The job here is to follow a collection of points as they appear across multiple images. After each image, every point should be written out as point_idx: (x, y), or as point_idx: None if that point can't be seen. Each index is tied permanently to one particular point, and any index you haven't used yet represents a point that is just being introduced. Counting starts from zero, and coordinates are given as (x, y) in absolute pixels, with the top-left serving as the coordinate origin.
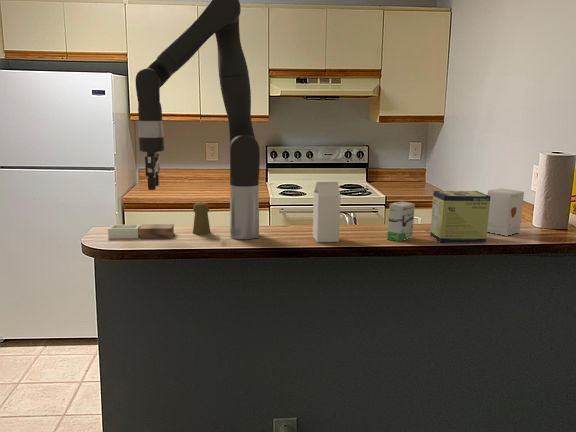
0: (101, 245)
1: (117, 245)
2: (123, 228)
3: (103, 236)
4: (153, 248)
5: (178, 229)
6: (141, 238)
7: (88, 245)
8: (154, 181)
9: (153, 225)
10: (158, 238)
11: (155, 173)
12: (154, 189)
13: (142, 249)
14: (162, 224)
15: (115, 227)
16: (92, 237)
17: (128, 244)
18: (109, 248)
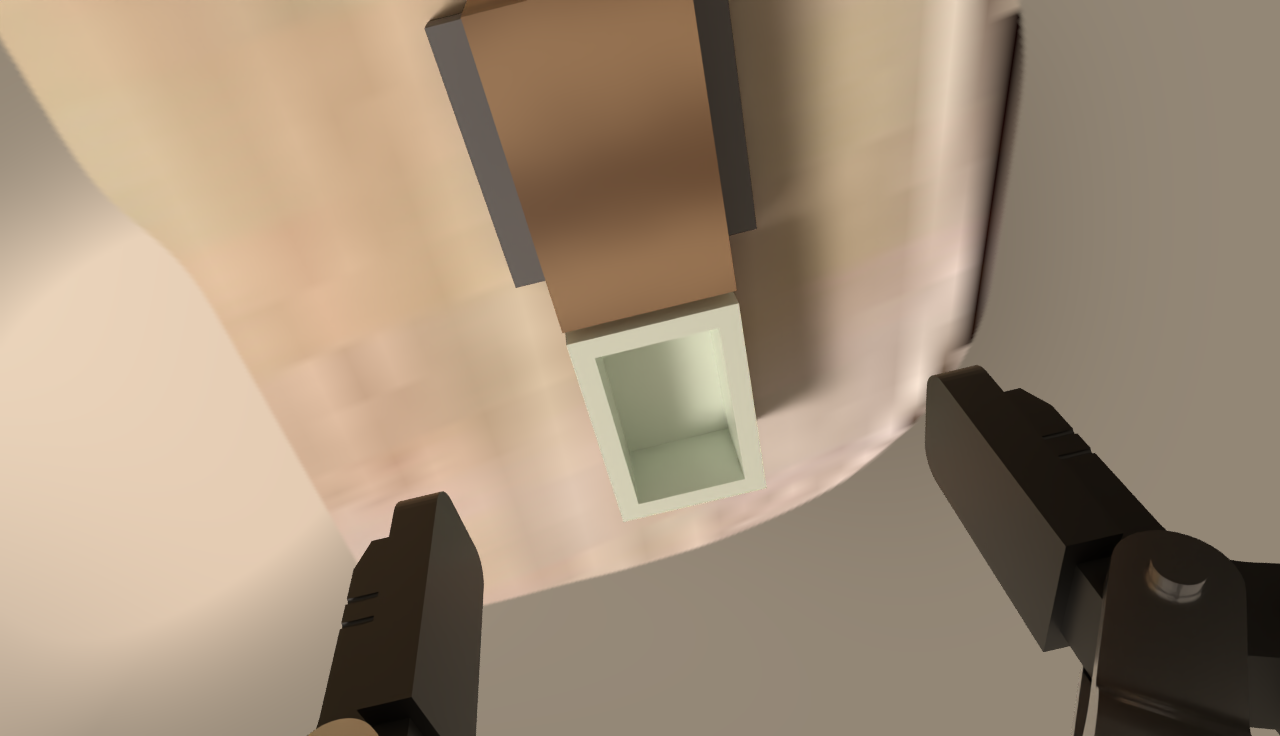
0: (843, 420)
1: (846, 334)
2: (740, 404)
3: (609, 506)
4: (955, 31)
5: (150, 45)
6: (735, 229)
7: (842, 480)
8: (1069, 478)
9: (582, 218)
10: (724, 80)
11: (1102, 642)
12: (974, 373)
13: (977, 114)
14: (514, 144)
15: (634, 483)
16: (646, 543)
17: (818, 277)
18: (923, 347)
